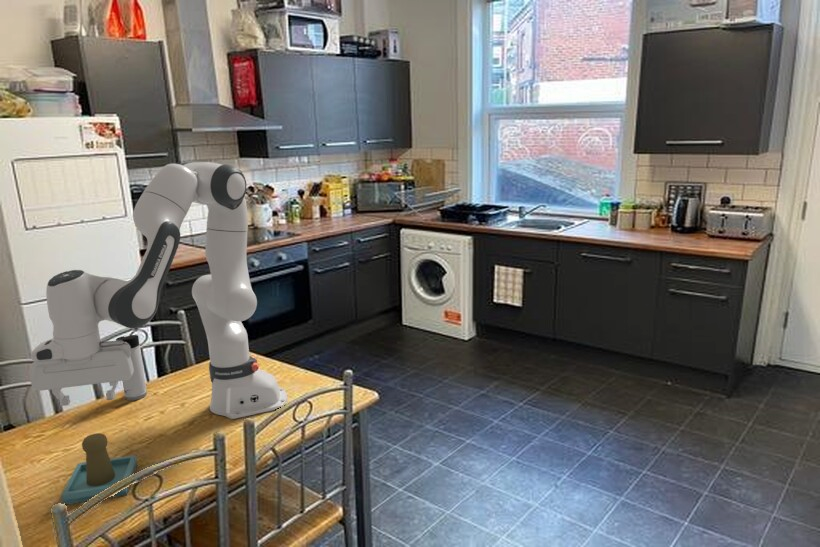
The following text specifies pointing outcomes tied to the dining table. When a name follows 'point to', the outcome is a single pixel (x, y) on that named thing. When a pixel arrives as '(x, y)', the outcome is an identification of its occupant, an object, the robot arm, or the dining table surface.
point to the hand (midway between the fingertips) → (88, 401)
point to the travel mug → (136, 383)
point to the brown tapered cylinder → (97, 460)
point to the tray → (82, 491)
